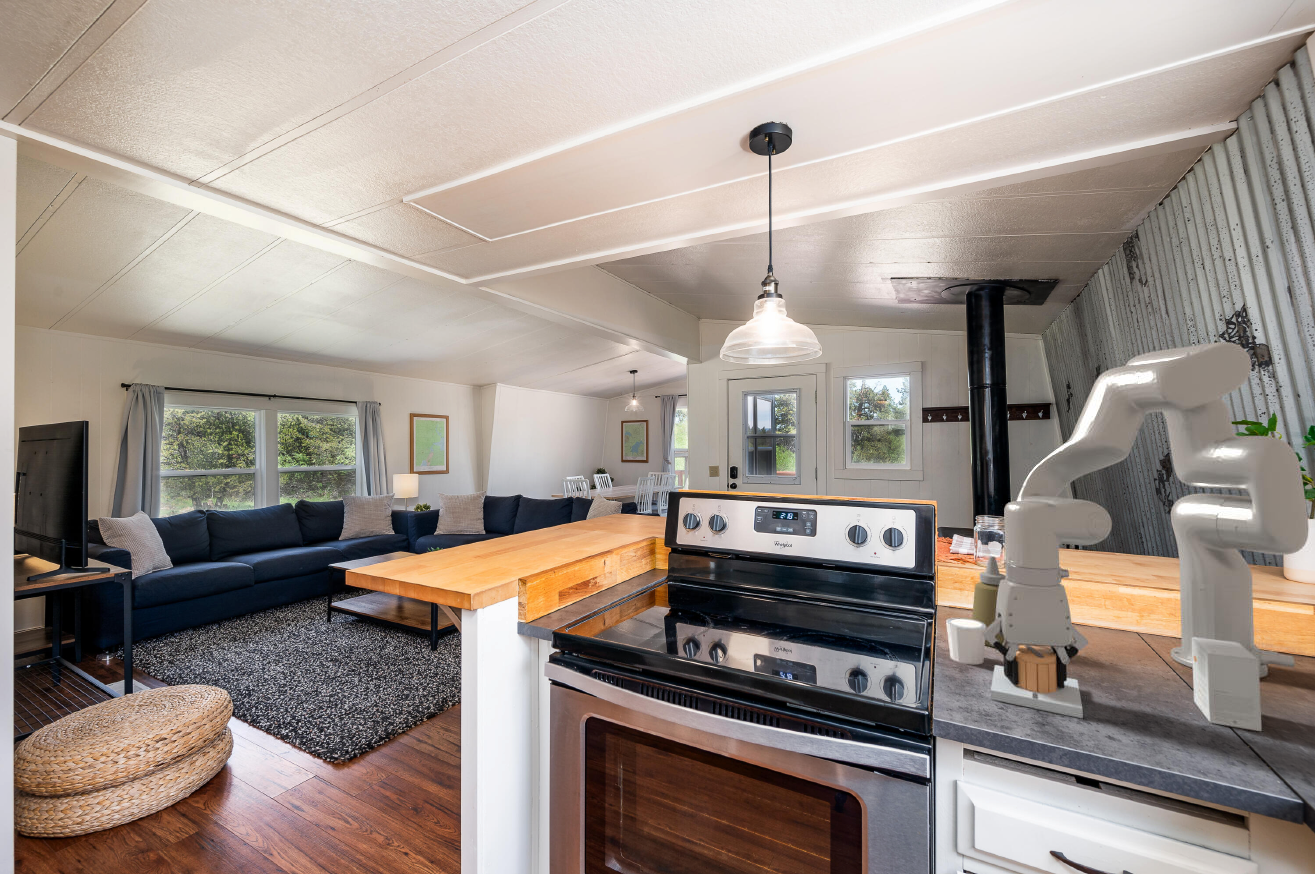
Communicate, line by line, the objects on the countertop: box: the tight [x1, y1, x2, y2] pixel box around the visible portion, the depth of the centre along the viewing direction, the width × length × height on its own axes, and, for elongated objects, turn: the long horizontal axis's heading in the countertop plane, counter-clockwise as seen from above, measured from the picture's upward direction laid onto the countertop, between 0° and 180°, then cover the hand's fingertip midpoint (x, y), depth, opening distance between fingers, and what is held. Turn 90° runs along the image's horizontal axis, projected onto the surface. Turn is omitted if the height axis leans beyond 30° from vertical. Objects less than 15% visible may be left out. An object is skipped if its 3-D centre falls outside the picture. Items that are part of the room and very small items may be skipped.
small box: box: [1192, 637, 1263, 732], centre depth 84 cm, size 8×6×10 cm
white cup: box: [945, 617, 986, 665], centre depth 108 cm, size 7×7×7 cm
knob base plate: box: [990, 664, 1084, 719], centre depth 93 cm, size 12×12×6 cm
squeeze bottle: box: [971, 555, 1006, 648], centre depth 116 cm, size 8×8×18 cm
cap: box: [1015, 645, 1057, 693], centre depth 93 cm, size 6×6×6 cm
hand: (1034, 681), depth 93 cm, fingers closed on cap, 6 cm apart
